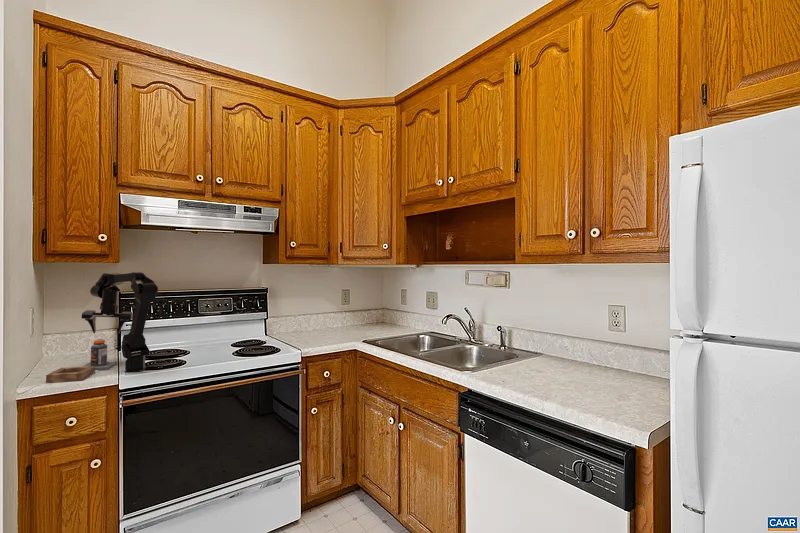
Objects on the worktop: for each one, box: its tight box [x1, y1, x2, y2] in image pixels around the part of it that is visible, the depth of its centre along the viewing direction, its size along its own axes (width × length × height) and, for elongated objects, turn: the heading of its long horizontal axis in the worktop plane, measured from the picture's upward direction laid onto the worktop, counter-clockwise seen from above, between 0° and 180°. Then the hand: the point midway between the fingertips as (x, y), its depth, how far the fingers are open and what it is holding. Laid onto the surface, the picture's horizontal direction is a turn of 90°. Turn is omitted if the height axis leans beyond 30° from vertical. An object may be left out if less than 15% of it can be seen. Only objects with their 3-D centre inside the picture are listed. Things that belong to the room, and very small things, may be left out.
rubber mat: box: [82, 361, 118, 371], centre depth 184 cm, size 11×11×1 cm
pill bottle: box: [90, 338, 108, 366], centre depth 184 cm, size 6×6×11 cm
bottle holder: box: [45, 366, 96, 384], centre depth 167 cm, size 12×12×3 cm
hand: (106, 333), depth 190 cm, fingers open, 9 cm apart
